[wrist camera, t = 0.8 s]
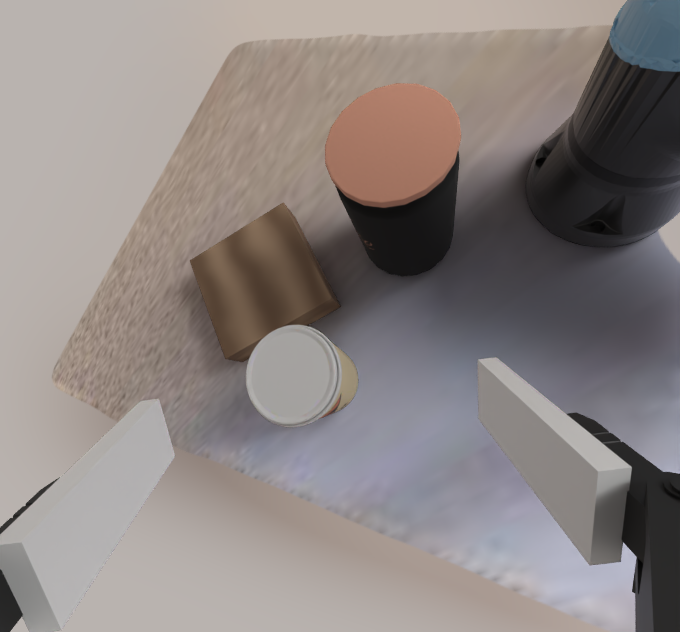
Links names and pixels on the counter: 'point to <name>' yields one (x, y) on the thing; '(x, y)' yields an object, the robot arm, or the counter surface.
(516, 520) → the counter surface
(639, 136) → the robot arm
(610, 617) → the counter surface
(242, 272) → the walnut riser
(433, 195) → the coffee jar
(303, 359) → the coffee cup
